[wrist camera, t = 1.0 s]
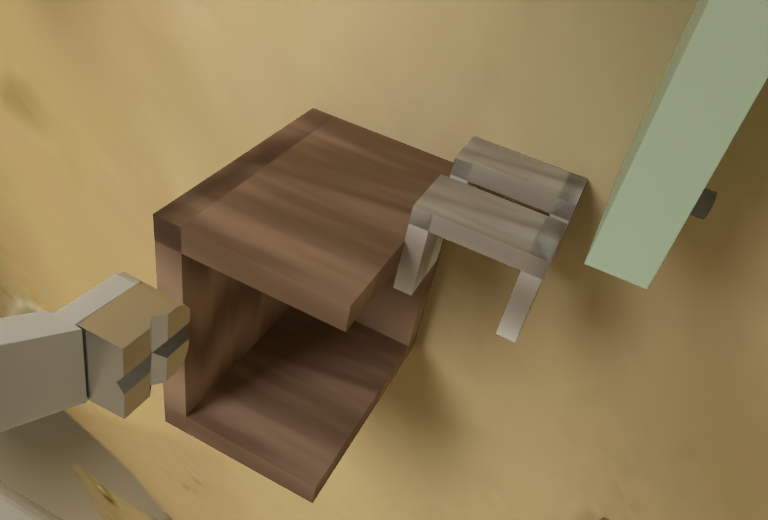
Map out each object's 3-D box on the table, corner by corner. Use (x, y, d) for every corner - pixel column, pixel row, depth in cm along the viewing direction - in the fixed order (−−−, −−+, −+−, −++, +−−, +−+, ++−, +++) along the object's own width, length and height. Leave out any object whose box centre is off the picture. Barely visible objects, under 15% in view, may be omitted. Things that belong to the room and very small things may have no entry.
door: (757, -129, 25) (758, -104, 18) (859, -104, 24) (906, -67, 17) (622, 162, 33) (584, 263, 26) (695, 188, 32) (678, 302, 25)
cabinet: (316, 77, 38) (150, 176, 28) (587, 179, 34) (513, 339, 24) (292, 291, 49) (165, 421, 38) (497, 387, 45) (418, 562, 34)
